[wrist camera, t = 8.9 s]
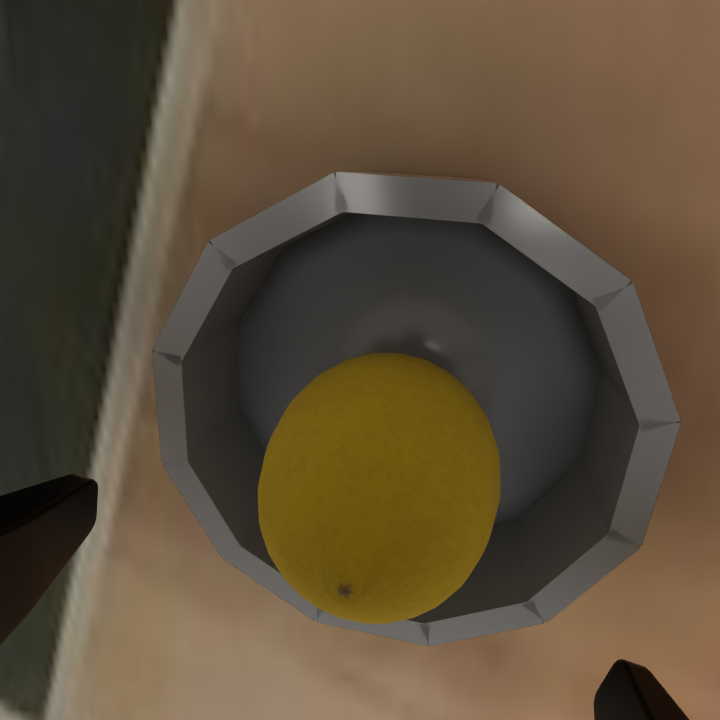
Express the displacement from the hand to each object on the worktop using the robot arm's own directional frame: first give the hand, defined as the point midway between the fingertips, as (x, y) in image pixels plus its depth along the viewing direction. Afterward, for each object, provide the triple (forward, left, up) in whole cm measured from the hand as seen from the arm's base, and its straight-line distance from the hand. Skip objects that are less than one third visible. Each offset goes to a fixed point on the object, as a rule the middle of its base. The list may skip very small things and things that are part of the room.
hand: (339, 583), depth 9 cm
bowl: (0, 0, -9) cm, 9 cm away
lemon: (-1, 0, -8) cm, 8 cm away
